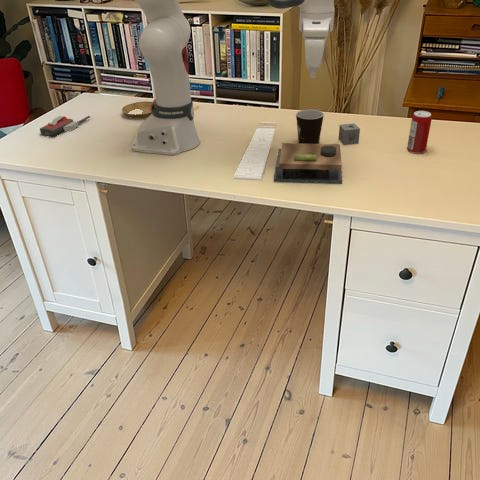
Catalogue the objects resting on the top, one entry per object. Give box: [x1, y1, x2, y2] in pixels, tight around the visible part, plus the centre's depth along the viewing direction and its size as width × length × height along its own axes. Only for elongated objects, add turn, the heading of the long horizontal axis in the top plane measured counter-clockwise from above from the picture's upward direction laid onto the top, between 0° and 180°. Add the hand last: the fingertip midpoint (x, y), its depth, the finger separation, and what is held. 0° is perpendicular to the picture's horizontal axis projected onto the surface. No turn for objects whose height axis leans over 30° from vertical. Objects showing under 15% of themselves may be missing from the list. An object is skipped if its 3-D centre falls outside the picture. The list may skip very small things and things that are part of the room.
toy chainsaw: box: [39, 115, 91, 138], centre depth 179 cm, size 9×4×20 cm
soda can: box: [406, 110, 433, 155], centre depth 149 cm, size 6×6×12 cm
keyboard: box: [233, 121, 278, 181], centre depth 159 cm, size 45×8×2 cm, turn 170°
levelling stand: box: [273, 148, 343, 185], centre depth 143 cm, size 19×15×4 cm
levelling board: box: [279, 142, 343, 170], centre depth 141 cm, size 17×14×3 cm
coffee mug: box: [295, 109, 325, 144], centre depth 158 cm, size 12×9×10 cm
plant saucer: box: [121, 101, 153, 119], centre depth 189 cm, size 15×15×3 cm
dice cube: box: [338, 122, 361, 146], centre depth 159 cm, size 5×5×5 cm
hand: (312, 76), depth 136 cm, fingers closed
